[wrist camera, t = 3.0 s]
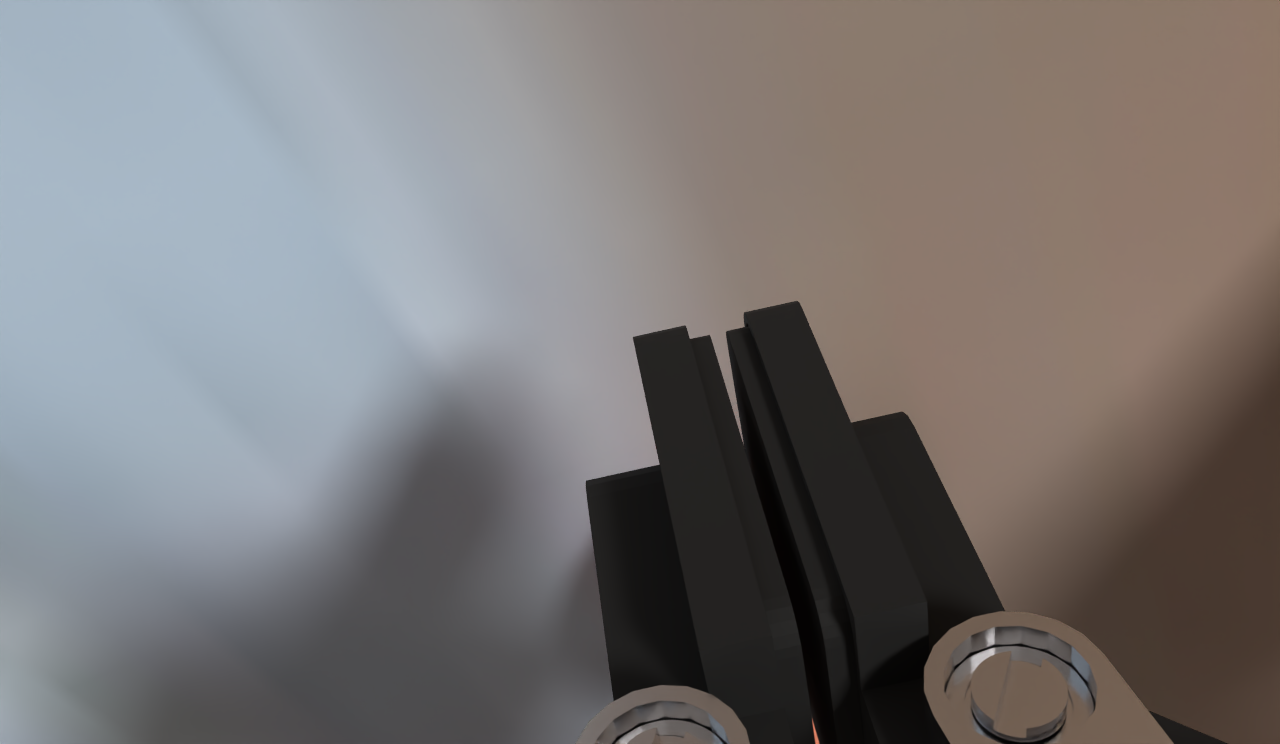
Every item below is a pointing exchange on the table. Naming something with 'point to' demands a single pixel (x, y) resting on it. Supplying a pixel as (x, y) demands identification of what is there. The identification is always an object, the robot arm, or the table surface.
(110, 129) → the table surface
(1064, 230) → the table surface
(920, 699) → the robot arm
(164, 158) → the table surface
